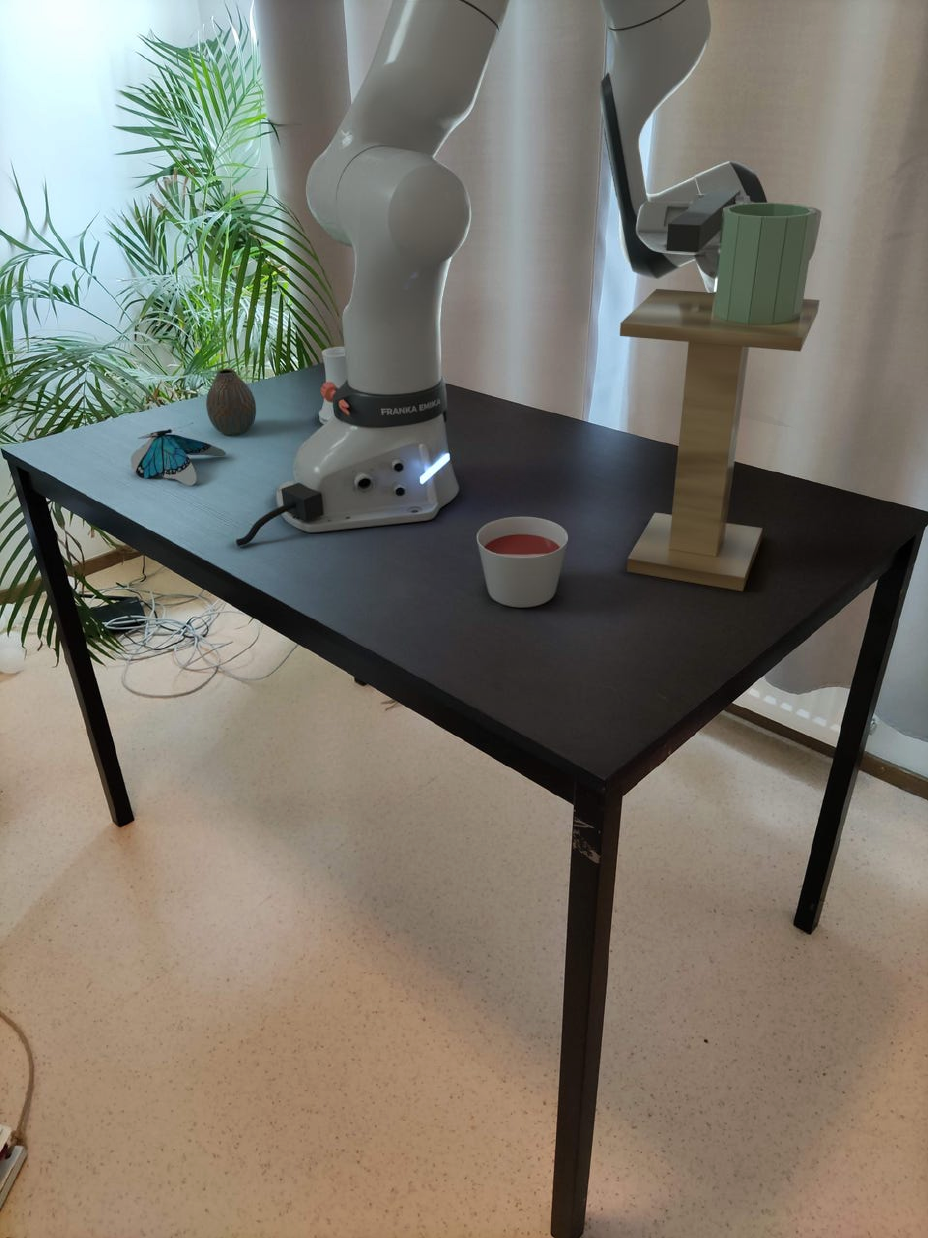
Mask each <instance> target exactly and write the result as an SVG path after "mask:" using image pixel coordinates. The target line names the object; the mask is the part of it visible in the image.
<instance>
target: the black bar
mask: <svg viewBox="0 0 928 1238" xmlns="http://www.w3.org/2000/svg"><path fill="white" fill-rule="evenodd" d="M740 193H741V190H727V189H713V190H712V191H710V192H709V193H708V194H707V195H705V196H704V197H703V198H701V199H700V200H699V201H697V202H696V203H695V204H694V205H692V206H691V207H690V208H688V209H687V210H686V211H685V212H683V213H682V214H681V215H679V216H678V217H677V218H675V219H674V220H673V221H672V222H670V223H669V224H668V232H667V245H666V251H678V252H699V251H700V250H701V249H702V248H703V247H704V246H705V245H706V244H707V243H708V242H709V241H710V240H711V239H712V238H713V237H714V236H715V235H716V234H717V233H718V232H719V231H720V230H721V222H722V212H723V208H725V207H728V206H731V205H734V203H735V196H740Z"/></svg>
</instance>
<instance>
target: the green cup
mask: <svg viewBox="0 0 928 1238" xmlns="http://www.w3.org/2000/svg"><path fill="white" fill-rule="evenodd" d="M812 207H813V206H807V205H802V204H795V203H785V202H784V203H783V202H767V203H746V204H735V205H731V206H728V207H725V208H723V212H722V222H721V231H720V240H719V250H718V259H717V269H716V278H715V287H714V297H713V306H712V311H713V314H714V316H716V317H719V318H721V319H724V320H726V321H731V322H738V323H744V324H779V323H786V322H791V321H794V320H796V319H797V318H799V317H800V316H801V311H802V305H803V299H805V291H806V284H807V278H808V272H809V264H810V261H809V259H810V253H811V246H812V240H813V233H814V227H815V220H816V214H817V211H816V210H815V209H814V208H815V207H814V208H812ZM810 260H811V259H810Z"/></svg>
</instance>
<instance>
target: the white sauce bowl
mask: <svg viewBox="0 0 928 1238" xmlns="http://www.w3.org/2000/svg"><path fill="white" fill-rule="evenodd" d="M568 541H569V536H568V532H567V530H565V528H564V527H562V526H561V525H560V524H558V523H556V522H553V521H552V520H549V519H544V518H541V517H540V518H539V517H534V516H511V517H503V518H499V519H497V520H493V521H491V522H488V523H486V524H484V525H483V526H482V527H481V528H480V529H479V530H478V531H477V534H476V544H477V548H478V551H479V552H478V553H479V557H480V563H481V566H482V571H483V575H484V581H485V585H486V589H487V592H488V595H489V597H490V598H491V599H492V600H493V601H495V602H497V603H498V604H500V605H503V606H506V607H511V608H522V609H523V608H533V607H537V606H540V605H543V604H545V603H547V602H549V601H550V600H551V599H552V598H553V597H554V596H555V594H556V591H557V588H558V584H559V580H560V577H561V571H562V567H563V563H564V558H565V554H566V550H567V545H568Z"/></svg>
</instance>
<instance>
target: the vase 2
mask: <svg viewBox="0 0 928 1238" xmlns="http://www.w3.org/2000/svg"><path fill="white" fill-rule="evenodd" d="M321 355H322V359H323V360H322V361H323V364H324V365H323V366H324V372H325V373H324V374H325V383H326V382H332V383H334V385H336V387H337V388H338V389H339V388H340V387H341V386H342V385H343V384H344V383H345V382H346V380H347V369H346V358H345V346H335V347H328V348H326V349H323V350H322V351H321ZM318 416H319V418H318V420H319V422H320V423H321V424H322V425H324V424H325V423H326V422H327V421H328V420H329V419H330V418H331V417H332V416H334V411H333V402H332V403H331V402H328V401H327V400H326V399H325V398H324V397H323V403H322V407H321V409H320V410H319V411H318Z"/></svg>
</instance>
